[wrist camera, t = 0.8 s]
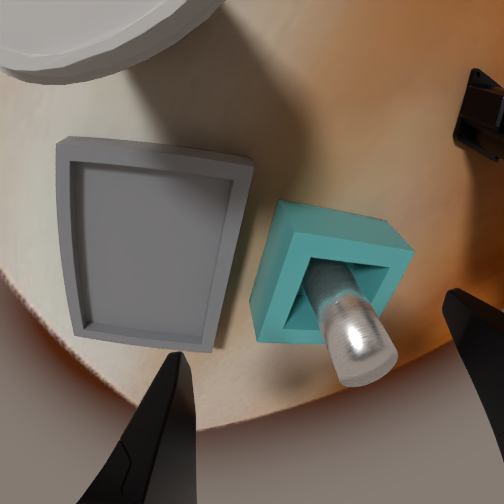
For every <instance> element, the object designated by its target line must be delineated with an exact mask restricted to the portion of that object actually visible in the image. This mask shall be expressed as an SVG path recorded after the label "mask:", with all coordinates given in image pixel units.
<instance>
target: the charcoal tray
mask: <svg viewBox="0 0 504 504" xmlns="http://www.w3.org/2000/svg"><path fill="white" fill-rule="evenodd" d="M254 168H255V166H254V164H253V162H252V160H251V158H250V157H244V156H238V155H232V154H227V153H220V152H214V151H208V150H201V149H194V148H187V147H180V146H172V145H164V144H155V143H147V142H137V141H127V140H116V139H104V138H90V137H73V136H68V137H67V138H65V139H63V140H62V141H60V142H58V143H57V144H56V203H57V220H58V233H59V244H60V253H61V261H62V269H63V276H64V283H65V289H66V295H67V301H68V307H69V312H70V317H71V322H72V327H73V332H74V336H79V337H84V338H90V339H96V340H102V341H109V342H115V343H122V344H129V345H137V346H145V347H153V348H161V349H171V350H181V351H191V352H203V353H212V350H213V346H214V341H215V336H216V332H217V327H218V323H219V318H220V314H221V309H222V305H223V301H224V296H225V292H226V287H227V283H228V279H229V274H230V270H231V265H232V261H233V257H234V252H235V248H236V244H237V240H238V235H239V231H240V227H241V223H242V218H243V214H244V210H245V206H246V202H247V197H248V193H249V189H250V185H251V181H252V177H253V172H254Z"/></svg>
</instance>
